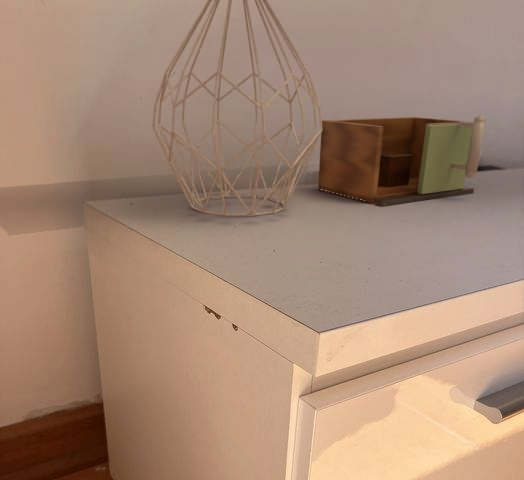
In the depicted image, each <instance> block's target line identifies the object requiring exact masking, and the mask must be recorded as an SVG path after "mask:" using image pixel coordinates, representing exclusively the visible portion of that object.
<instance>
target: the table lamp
mask: <svg viewBox="0 0 524 480" xmlns="http://www.w3.org/2000/svg"><path fill="white" fill-rule="evenodd" d="M212 1H213V0H207V1H206V2H205V4H204V6H203V8H202V9H201V11H200V12H199V14H198V16H197V17H196V19H195V21H194V23H193V24H192V26H191V27H190V29H189V31H188V33H187V34H186V36H185V38H184V39H183V41H182V43H181V44H180V46H179V48H178V49H177V50H176V53H175V54H174V56H173V58H172V59H171V61H170V62H169V64H168V66H167V67H166V69H165V71H164V75H163V76H162V77H163V78H162V80H161V83H160V86H159V89H158V92H157V95H156V98H155V101H154V104H153V116H152V130H153V132H154V134H155V136H156V138H157V140H158V142H159V144H160V147H161V149H162V151H163V153H164V155H165V157H166V159H167V162H168V163H169V166H170V168H171V170H172V172H173V174H174V176H175V178H176V180H177V182H178V184H179V186H180V188H181V190H182V192H183V194H184V196H185V198H186V201H187V202H188V204H189V206H190V209H193V210H196V211H198V212H201V213H202V214H210V215H217V216H224V217H255V216H262V215H269V214H270V215H272V214H275V213H278V212H280V211H283V210H285V209H286V207H287V206H288V203H289V201H290V199H291V197H292V195H293V193H294V191H295V189H296V187H297V185H298V183H299V181H300V180H301V179H300V178H301V177H302V175H303V172H304V171H305V169H306V167H307V165H308V163H309V161H310V158H311V156H312V154H313V152H314V149H315V148H316V146H317V143H318V141H319V139H320V138H321V132H322V130H323V129H322V120H323V119H322V118H323V117H322V109H321V104H320V100H319V97H318V95H317V91H316V88H315V85H314V82H313V79H312V76H311V74H310V72H309V70H308V68H307V66H306V64H305V62H304V61H303V60H302V58H301V56H300V54H299V52H298V51H297V49H296V48H295V46H294V45H293V43H292V41H291V39H290V37H289V35H288V34H287V32H286V31H285V29H284V27H283V26H282V23H281V22H280V21H279V19H278V17H277V15H276V13H275V11H274V10H273V8H272V7H271V4H270V3H269V1H268V0H254V3H255V5H256V8H257V10H258V13H259V15H260V17H261V20H262V24H263V26H264V29H265V31H266V33H267V34H266V35H267V36H268V39H269V41H270V43H271V46H272V49H273V51H274V54H275V57H276V60H277V62H278V64H279V68H280V69H281V72H282V75H283V79H284V82H283V84H281V86H280V87H279V88H278V89H275V88H274V87H273V86H272V85H270V84H269V83H268V82H267V81H266V80H264V78H262V74H261V68H260V63H259V62H260V61H259V57H258V52H257V47H256V40H255V35H254V30H253V29H254V28H253V25H252V18H251V13H250V7H249V2H248V0H242V4H243V12H244V20H245V26H246V33H247V40H248V48H249V55H250V61H251V62H250V63H251V70H252V73H251V74H250V75H248V76H247V77H246V78H244V79H243V80H242V81H240V82H239V83H238V84H237V85H235V84H234V83H233V82H232V81H231V80H229V79H228V78H227V77H226V76H225V75H223V74H222V72H223V65H224V57H225V50H226V43H227V37H228V29H229V23H230V15H231V10H232V9H231V8H232V0H228V1H227V6H226V14H225V19H224V20H225V21H224V24H223V25H224V26H223V32H222V37H221V44H220V49H219V56H218V61H217V68H216V71H215V72H214V73H213V74H212V75H210V76H208V78H207V79H205V80H204V81H203V82H202V81H201V80H200V79H199V78H198V77H197V76H196V75H195V74H194V73H193V69H194V67H195V64H196V62H197V60H198V56H199V54H200V52H201V49H202V47H203V44H204V41H205V39H206V36H207V34H208V31H209V29H210V26H211V25H212V21H213V19H214V16H215V14H216V12H217V9H218V6H219V4H220V1H221V0H214V1H213V3H212ZM211 3H212V5H211ZM210 5H211V7H210ZM264 6H265V7H264ZM209 7H210V9H209ZM265 8H266V9H265ZM208 9H209V12H208V14H207V16H206V18H205V20H204V22H203V25H202V27H201V29H200V31H199V34H198V36H197V38H196V39H195V43H194V44H193V47H192V49H191V51H190V53H189V55H188V58H187V60H186V62H185V64H184V66H183V68H182V70H181V74H180V78H179V81H178V83H176V84H175V85H174V86H173V88H172V86H171V82H170V81H171V80H170V77H171V74H172V72H173V70H174V68H175V66H177V63H178V61H179V59H180V58H181V56H182V54H183V53H184V51H185V49H186V47H187V45H188V44H189V42H190V40H191V38H192V37H193V35H194V33H195V31H196V30H197V28H198V26H199V25H200V23H201V21H202V19H203V17H204V16H205V14H206V13H207V10H208ZM266 10H267V11H268V13H269V15H270V17H271V18H272V19H271V20H272V21H273V22H274V24H275V27H276V28H277V29H278V32H279V33H280V35H281V36H282V39H283V40H284V42H285V44H286V45H287V47H288V49H289V51H290V53H291V55H292V57H293V58H294V60H295V61H296V63H297V66H298V67H299V69H300V71H301V73H302V76H301V78H298V76H297V75H296V73H295V72H294V69H293V67H292V65H291V63H290V61H289V58H288V56H287V54H286V52H285V50H284V47H283V46H282V44H281V41H280V39H279V36H278V35H277V32H276V30H275V28H274V26H273V24H272V21H271V20H270V17H269V15H268V13H267V11H266ZM265 19H266V20H265ZM266 21H267V23H268V24H267V23H266ZM267 25H269V27H270V29H271V31H272V32H271V33H272V34H273V36H274V39H275V40H276V42H277V44H278V47H279V49H280V51H281V53H282V55H283V58H284V60H285V61H286V62H285V63H286V65H287V66H288V68H289V71H290V75H289V77H288V78H287V76H286V72H285V69H284V67H283V64H282V61H281V59H280V56H279V54H278V52H277V48H276V46H275V44H274V41H273V38H272V35H271V33H270V30H269V28H268V26H267ZM205 28H206V29H205ZM204 30H205V31H204ZM203 32H204V33H203ZM202 34H203V36H202ZM201 37H202V39H201ZM200 39H201V40H200ZM199 41H200V44H199V46H198V49H197V52H196V54H195V56H194V59H193V61H192V64H191V66H190V69H189V71H188V72H187V73H186V74H185V71H186V69H187V67H188V65H189V62H190V61H191V59H192V56H193V54H194V52H195V49H196V47H197V45H198V43H199ZM251 41H252V42H251ZM251 43H252V44H251ZM252 48H253V50H252ZM253 53H254V57H253ZM254 58H255V63H256V69H257V73H256V72H255V63H254ZM191 76H192V77H193V78H194V79H195V80H196V81H197V82H198V83H199V85H198V86H197V87H195V88H194V89H193V90H192V91H190V92H189V93H188V89H189V85H190V80H191ZM251 77H252V78H253V79H252V80H253V90H254V99H252V98H251V97H250V96H249V95H248V94H247V93H245V92H244V91H243V90H242V89H240V86H241V85H243V84H244V83H245V82H246V81H247V80H249V79H250V78H251ZM213 78H215V84H214V92H212V91H211V90H210V89H209V88H207V86H206V84H207V83H209V82H210V81H211V80H212V79H213ZM256 78H257V79H258V84H259V85H258V86H259V94H260V104H261V105H260V104H259V103H258V95H257V82H256ZM186 79H187V81H186V84H185V90H184V94H183V97H182V98H181V99H180V100H179V101H178V98H179V94H180V90H181V86H182V84H183V82H184V81H185V80H186ZM222 79H223V80H224V81H225V82H226V83H228V84H229V85H230V86H231V87H232V88H231V89H230V90H229V91H227V92H226V93H225V94H224V95H222V96H221V84H222ZM291 79H293V82H294V86H295V91H294V92H293V94H292V97H291V94H290V89H289V85H288V83H289V81H291ZM303 80H305V83H306V86H307V87H306V86H305V84H304V83H303ZM262 83H264V84H265V85H266V86H267V87H269V88H270V89H271V90H272V91H273V92H275V93H274V94H273V95H272V96H271V97H270V99H269V100H268V101H267V102H266V104H265V103H264V94H263V84H262ZM300 87H302V88H303V90H304V91H305V92H306V93H307V94H308V96H309V97H310V99H311V102H312V106H313V107H312V108H313V118H314V119H313V121H314V127H313V130H312V132H311V133H310V137H309V139H308V141H307V143H306V145H305V148H304V149H303V151H302V149H301V145H302V142H303V140H304V138H305V137H304V136H305V134H306V125H305V123H306V122H305V110H304V109H305V108H304V105H303V101H302V98H301V93H300V90H299V89H300ZM167 88H168V90H169V92H167V93H166V90H167ZM201 88H204V89H205V91H207V92H208V94H209V95H210V96H211V97H212V98H213V103H212V104H213V105H212V126H211V127H210V128H209V130H207V132H206V134H205V135H204V136H203V137H202V139H201V140H200V141H199V142H198V143H197V145H196V147H194V146H193V145H192V144H191V141H190V137H189V134H188V131H187V128H186V124H185V107H186V106H185V105H186V100H187V99H189V98H190V97H191V96H192V95H193V94H195V93H196V92H197V91H199V90H200V89H201ZM284 88H286V94H287V97H286V96H285V95H283V94H282V93H280V92H281V91H282V90H283V89H284ZM176 89H177V90H176ZM175 90H176V94H175V97H174V95H173V92H174V91H175ZM235 90H236V91H237V92H239V93H240V94H241V95H242V96H244V97H245V98H246V99H247V100H248V101H250V102H251V103H252V104H253V105H254V106H255V107H254V109H255V123H254V134H253V140H252V141H251V142H250V143H249V144H246V142H245V141H243V140H242V139H241V138H240V137H239V136H238V135H237V134H236V133H234V132H233V131H232V130H231V129H230V128H229V127H228V126H227V125H225V124H224V123H223V122H222V121H221V120H220V102H221V101H222V100H223V99H224V98H226V96H228V95H230V94H231V93H232V92H234V91H235ZM165 93H166V95H165ZM187 93H188V94H187ZM213 93H214V94H213ZM296 95H297V98H298V102H299V106H300V110H301V111H300V112H301V123H302V126H301V127H302V134H301V137H300V140H299V139H298V136H297V132H296V129H295V125H294V122H293V106H292V103H293V102H294V99H295V97H296ZM169 96H170V100H171V105H172V117H171V131H169V130H168V129H167V128H166V127H165V126H164V125H162V124H161V118H162V117H161V116H162V103H163V102H164V101H165V100H166V99H167V98H168V97H169ZM220 96H221V97H220ZM277 96H279V97H281V98H282V99H283V100H284V101H286V102H287V103H288V104H289V115H290V116H289V117H290V122H289V123H287V124H286V125H285V126H284V127H282V128H281V129H280V130H279V131H277V132H276V133H274V134H273V135H272V136H270V137H269V136H267V134H266V123H265V121H266V120H265V110H266V109H267V108H268V107H269V105H270V104H272V102H273V101H274V99H276V97H277ZM177 101H178V102H177ZM158 102H159V105H158ZM181 104H182V109H181V110H182V111H181V123H182V126H183V130H184V133H185V137H186V139H185V138H184V137H182V136H181V135H180V134H179V133H178V132H176V131H175V119H176V117H175V116H176V108H177V107H178V106H180V105H181ZM216 105H217V107H216ZM157 106H158V107H159V108H158V119H157V126H158V129H159V133H160V136H161V138H160V136H159V133H158V131H157V128H156V126H155V125H156V114H157ZM316 106H317V107H318V117H319V119H318V120H319V128H320V129H319V130H318V131H317V133H316V134H315V131H316V129H317V126H318V121H317V109H316V108H317V107H316ZM258 109H259V110H260V111H261V124H262V126H261V127H262V129H261V130H262V134H260V135H259V136H258V137H257V129H258ZM216 114H217V115H216ZM220 124H221V126H223V127H224V128H225V129H226V130H227V131H228V132H230V133H231V135H232V136H234V137H235V138H236V139H237V140H238V141H239V142H240V143H241V144H243V145H244V146H245V147H244V148H242V150H240V151H238V153H236V154H235V155H233V156H232V158H230V159H228V160H227V161H226V162H225V163H224V156H223V155H224V153H223V147H222V146H223V145H222V135H221V127H220ZM216 125H217V132H218V141H219V151H220V160H221V166H220V160H219V154H218V147H217V139H216ZM287 128H288V130H287V134H286V138H285V142H284V145H283V149H282V151H281V152H280V151H279V149H278V148H277V147H276V146H275V144H274V143H273V141H271V140H272V139H274V138H275V137H277V136H278V135H279V134H280V133H281V132H283V131H284V130H286V129H287ZM291 130H292V131H293V134H294V138H295V142H296V145H297V148H296V151H295V152H294V156H293V159H292V161H291V164H290V163H289V161H288V160H287V159H286V157H284V155H285V152H286V148H287V145H288V140H289V136H290V133H291ZM211 131H212V139H213V145H214V154H215V161H216V165H215V164H214V163H213V162H212V161H211V160H209V159H208V158H207V157H206V156H205V155H204V154H202V153H201V151H199V150H198V148H199V147H200V146H201V144H202V143H203V142H204V140H206V138H207V137H208V135H209V134H210V133H211ZM165 132H166V133H167V134H168V135H169V136H170V143H169V141H168V139H167V137H166V134H165ZM314 134H315V136H314ZM313 136H314V137H313ZM260 139H261V142H260V143H261V144H260V145H259V146H257V148H256V143H257V142H258V141H259V140H260ZM173 141H175V144H176V147H177V149H178V152H179V155H180V158H181V160H182V163H183V166H184V169H185V171H186V174H187V176H188V179H189V181H190V184H191V189H190V188H189V186H188V184H187V182H186V180H185V178H184V175H183V173H182V171H181V169H180V166H179V164H178V162H177V161H176V158H175V156H174V153H173ZM267 143H268V144H270V146H271V147H272V148H273V150H274V151H275V152H276V153H277V154H278V156H279V157H280V159H279V163H278V165H277V169H276V172H275V175H274V179H273V182H272V185H271V189H270V191H268V187H267V185H266V181H265V179H264V176H263V173H262V169H261V165H262V158H263V151H264V146H265V145H266V144H267ZM185 144H186V145H187V146H188V147H189V148H188V147H187V146H186V145H185ZM180 146H181V147H183V148H184V149H185V150H186V151H188V152H189V153H190V155H191V156H190V157H191V174H190V171H189V168H188V166H187V163H186V161H185V158H184V155H183V153H182V149H181V147H180ZM251 147H252V148H251ZM259 149H260V150H259ZM247 150H249V151H250V152H251V154H250V155H249V157H248V158H247V160H246V162H245V164H244V165H243V167H242V168H241V169H240V172H239V173H238V175H237V176H236V178H235V180H234V181H233V183H232V184H231V183H230V181H229V180H228V179H227V177H226V173H225V167H227V166H228V165H229V164H230V163H232V162H233V161H234V160H235V159H237V158H238V157H239V156H240V155H242V154H244V152H245V151H247ZM258 150H259V158H257V155H256V152H257V151H258ZM309 151H310V152H309ZM195 153H196V154H197V155H198V156H200V157H201V158H202V159H204V160H205V161H206V162H207V163H208V164H209V165H211V167H213V168H214V169H215V170H216V174H215V176H214V177H213V176H212V175H211V173H210V172H209V171H208V170H207V168H206V167H205V165H204V164H203V163H202V162H201V161H200V160H199V158H198V157H197V156H196V154H195ZM298 153H299V156H298ZM307 154H308V155H307ZM297 156H298V157H297ZM306 156H307V158H306V160H305V162H304V165H303V167H302V169H301V166H302V163H303V160H304V158H305V157H306ZM172 160H173V162H174V164H175V166H176V167H175V166H174V164H173V163H172ZM250 160H251V165H250V173H249V182H248V183H249V184H248V193H247V195H251V189H252V181H253V179H252V178H253V171H254V170H253V169H254V162H255V164H256V166H257V171H256V178H255V184H254V189H253V190H254V191H253V195H251V196H239V195H240V194H239V193H238V192H237V191H236V190H235V188H234V186H235V185H236V183H237V181H238V180H239V178H240V177H241V175H242V173H243V172H244V170H245V169H246V167H247V166H248V163H249V162H250ZM254 160H255V161H254ZM282 161H284V163H285V164H286V165H287V166H288V167H289V168H288V169H287V170H286V171H285V172H284V174H283V175H282V176H281V177H280V178H279V180H278V181H277V177H278V174H279V171H280V168H281V165H282ZM198 164H199V165H200V167H201V168H202V169H203V170H204V171H205V172H206V175H208V176H209V178H210V180H212V181H213V182H212V185H211V187H210V190H209V192H208V196H207V193H206V189H205V187H204V183H203V180H202V177H201V173H200V170H199V167H198ZM194 167H195V168H194ZM194 169H196V170H195V171H196V173H197V176H198V180H199V182H200V185H201V188H202V193H203V196H204V197H202V198H200V196H199V194H198V191H197V189H196V187H195V180H194V179H195V173H194V172H195V171H194ZM300 169H301V171H300ZM221 170H222V171H221ZM294 171H295V172H294ZM299 171H300V173H299ZM293 172H294V174H293V176H292V173H293ZM298 174H299V175H298ZM291 176H292V178H291ZM222 178H223V181H222ZM260 178H261V181H262V184H263V187H264V190H265V193H266V196H264V197H265V198H261V197H262V196H259V197H256V196H257V191H258V184H259V179H260ZM217 179H218V181H219V183H218V182H217ZM276 181H277V183H276ZM275 183H276V184H275ZM215 185H216V186H217V188H218V189H219V190H220V193H221V196H222V197H214V196H215V195H214V196H211V195H212V192H213V189H214V187H215ZM227 185H228V186H229V190H228V189H227ZM223 186H224V187H223ZM285 187H286V192H285V194H284V196H283V199H282V201H281V197H282V195H283V193H284V190H285ZM223 188H224V190H223ZM280 188H281V189H280ZM279 189H280V192H279V195H278V197H277V199H275V198H273V197H274V195H275V194H276V193H277V192H278V190H279ZM231 192H233V193H234V195H236V196H224V195H230V193H231ZM252 196H254V197H252ZM207 197H208V198H207ZM210 197H213V198H210ZM204 198H206V199H204ZM220 198H221V200H222V207H223V212H216V211H215V212H214V211H208V210H206V209H207V207H208V203H209V201H210V200H211V199H220ZM225 198H238V200H239V201H240V203H241V204H242V205H243V206H244V208H245V209H246V211H247V212H248V213H227V209H226V202H225ZM242 198H252V204H251V210H250V209H249V207H248V206H247V205H246V204H245V202H244V200H243V199H242ZM269 198H271V199H269ZM201 199H202V200H201ZM256 199H261V200H262V201H261V202H260V203H258V205H257V207H255V204H256ZM272 199H274V200H272ZM205 200H206V201H205ZM266 200H270V201H272V202H275V206H274V208H273V209H272V211H265V212H257V211H258V210H259V209H260V207H262V205H263V204H264V203H265V201H266ZM275 200H277V201H275ZM194 201H195V202H194ZM203 201H205V203H204V206H203V204H202V202H203ZM279 201H281V202H279ZM283 202H284V204H283ZM192 203H193V204H194V205H193V204H192ZM195 204H196V205H197V206H198V207H195ZM279 204H281V206H282V207H279V208H278V209H277V207H278V205H279ZM282 204H283V205H282ZM284 207H285V208H284ZM282 208H283V209H282Z"/></svg>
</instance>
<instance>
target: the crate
mask: <svg viewBox="0 0 524 480" xmlns="http://www.w3.org/2000/svg"><path fill="white" fill-rule="evenodd" d="M458 122H468V121H464V120H453V119H442V118H432V117H431V118H430V117H419V116H404V117H403V116H402V117H401V116H400V117H380V118H379V117H376V118H352V119H350V118H348V119H324V120H323V119H322V129H323V130H322V132H321V135H320V148H319V164H318V182H317V183H318V184H317V187H318V188H319V189H318V188H317V190H318V191H320V192H323V193H324V192H325V193H328V194H331V195H336V196H339V197H344V198H348V199H352V200H355V201H360V202H364V203H367V204H371V205H372V204H374V205H375V206H379V207H386V206H387V207H388V206H394V205H401V204H407V203H414V202H422V201H428V200H434V199H441V198H447V197H454V196H463V195H467V194H474V192H475V188H473V187H468V186H464V188H463V189H457V190H450V191H443V192H436V193H429V194H422V195H421V194H418V193H417V191H418V183H419V176H420V168H421V160H422V153H423V145H424V137H425V130H426V125H441V124H458ZM470 122H471V123H473V121H470ZM381 152H397V153H403V154H410V155H412V159H411V168H410V176H409V184H408V185H403V186H395V187H384V186H380V185H378V177H379V167H380V157H381ZM320 189H323V190H320ZM324 190H327V191H324ZM328 191H330V192H328ZM332 192H334V193H332ZM336 193H338V194H336ZM340 194H342V195H340ZM344 195H345V196H344ZM348 196H349V197H348ZM352 197H353V198H352ZM356 198H357V199H356ZM360 199H362V200H360ZM364 200H365V201H364ZM385 204H386V205H385Z"/></svg>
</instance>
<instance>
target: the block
mask: <svg viewBox="0 0 524 480" xmlns="http://www.w3.org/2000/svg"><path fill="white" fill-rule="evenodd" d="M411 159H412V155H410V154H403V153H397V152H381V157H380V167H379V177H378V185H380V186H384V187H395V186H403V185H408V184H409V176H410V168H411Z"/></svg>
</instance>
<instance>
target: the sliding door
mask: <svg viewBox="0 0 524 480" xmlns="http://www.w3.org/2000/svg"><path fill="white" fill-rule="evenodd" d="M486 121H487V120H486V118H485V116H483V115H477V116H475V117H474V118H473V121H467V122H458V124H441V125H426V130H425V137H424V145H423V153H422V160H421V168H420V176H419V183H418V191H417V193H418V194H421V195H422V194H429V193H436V192H443V191H450V190H457V189H463V188H465V181H466V178H469V179H472V178H475V176H476V175H477V173H478V168H479V161H480V156H481V150H482V145H483V139H484V133H485V128H486V127H485V126H486ZM471 122H473V123H471Z"/></svg>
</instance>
